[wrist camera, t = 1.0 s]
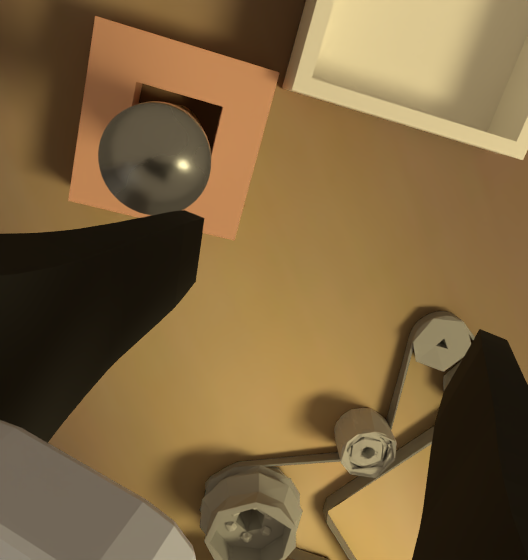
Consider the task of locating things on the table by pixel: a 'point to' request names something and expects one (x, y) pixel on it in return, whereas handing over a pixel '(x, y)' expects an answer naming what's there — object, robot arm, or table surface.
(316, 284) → the table surface
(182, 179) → the pin
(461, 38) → the tray
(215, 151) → the block
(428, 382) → the table surface
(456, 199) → the table surface
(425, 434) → the pulley system
